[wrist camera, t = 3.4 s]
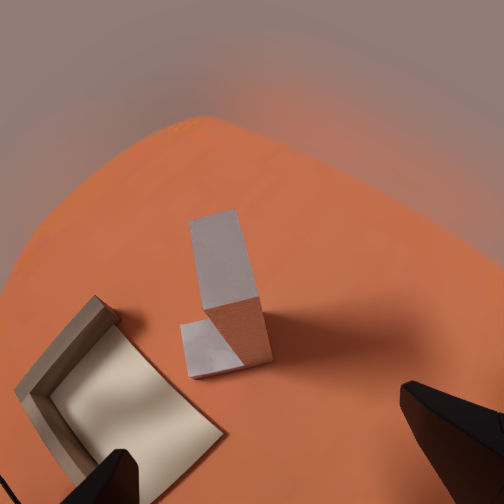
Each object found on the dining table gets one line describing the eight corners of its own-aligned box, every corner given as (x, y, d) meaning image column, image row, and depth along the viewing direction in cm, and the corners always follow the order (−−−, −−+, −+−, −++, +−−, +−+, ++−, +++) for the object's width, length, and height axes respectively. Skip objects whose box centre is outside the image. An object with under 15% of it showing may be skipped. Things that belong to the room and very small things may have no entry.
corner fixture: (230, 425, 19) (222, 427, 17) (131, 520, 15) (113, 528, 13) (112, 308, 25) (94, 294, 22) (35, 396, 21) (14, 390, 18)
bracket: (273, 361, 22) (258, 296, 11) (193, 379, 21) (104, 331, 11) (260, 311, 24) (235, 208, 13) (185, 329, 23) (104, 245, 13)
